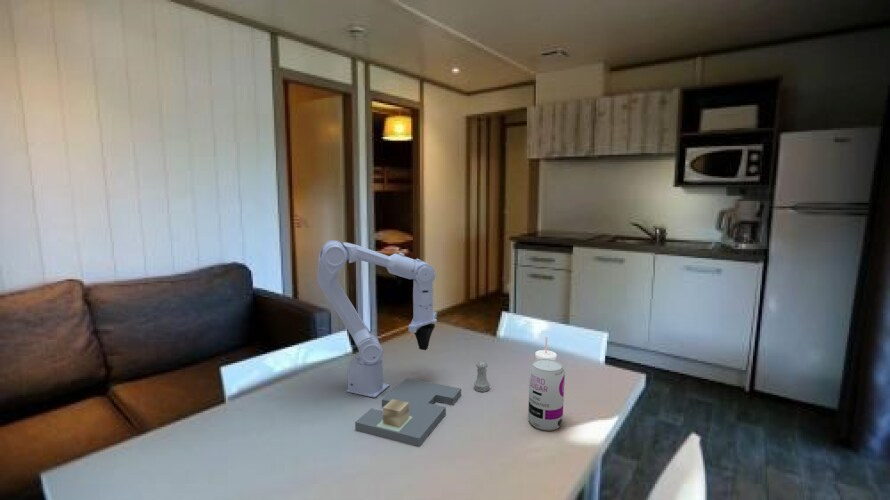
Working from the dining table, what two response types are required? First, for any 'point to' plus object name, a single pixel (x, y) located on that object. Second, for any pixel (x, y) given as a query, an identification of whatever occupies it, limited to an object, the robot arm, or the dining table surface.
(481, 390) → the rook chess piece
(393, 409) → the oak block
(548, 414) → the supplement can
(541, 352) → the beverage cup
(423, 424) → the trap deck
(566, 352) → the dining table surface
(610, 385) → the dining table surface
